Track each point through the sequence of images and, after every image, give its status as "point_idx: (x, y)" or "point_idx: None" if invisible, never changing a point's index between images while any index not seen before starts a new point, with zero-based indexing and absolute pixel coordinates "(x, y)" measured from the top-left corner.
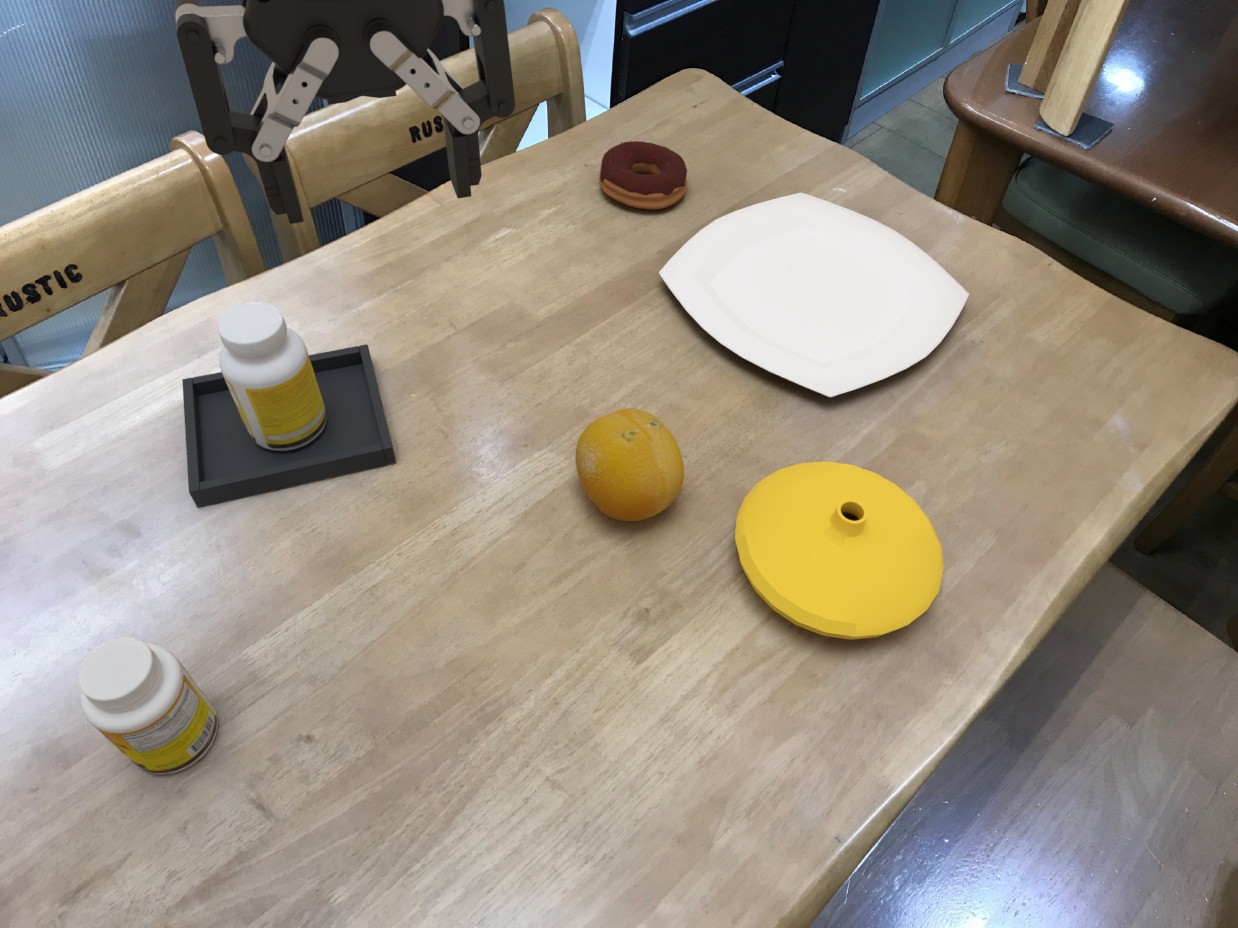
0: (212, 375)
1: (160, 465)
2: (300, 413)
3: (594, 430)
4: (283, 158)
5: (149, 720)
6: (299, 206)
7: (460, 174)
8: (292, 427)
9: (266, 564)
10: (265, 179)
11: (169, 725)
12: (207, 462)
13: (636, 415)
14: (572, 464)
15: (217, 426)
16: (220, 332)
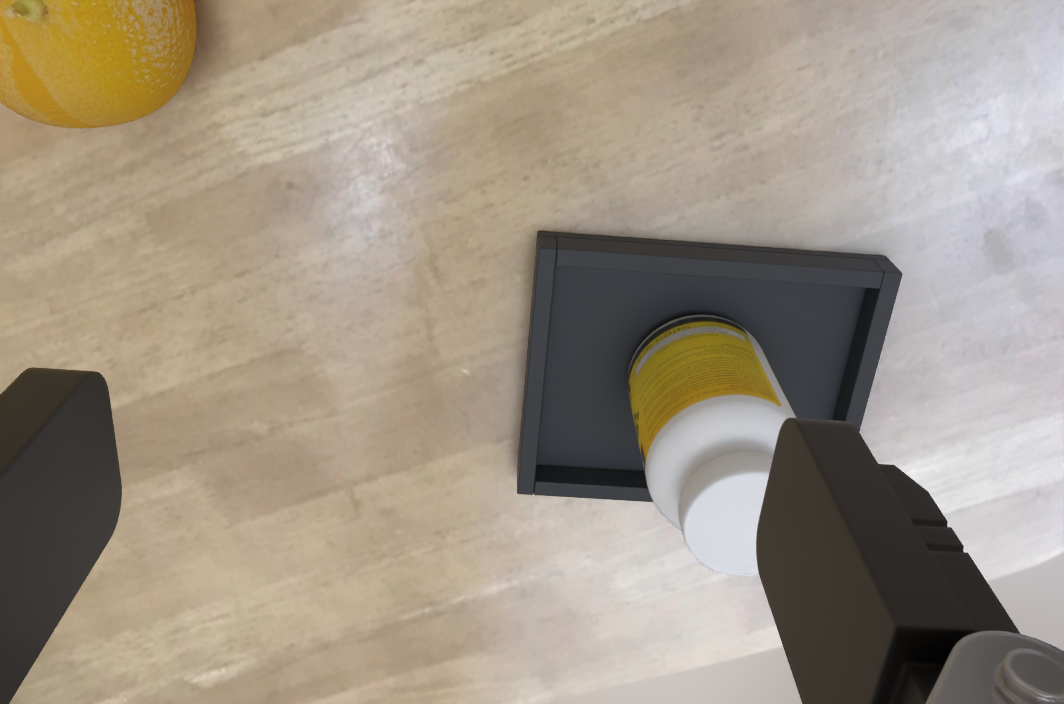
0: None
1: (912, 364)
2: (684, 355)
3: (114, 67)
4: (908, 643)
5: None
6: (813, 454)
7: (14, 428)
8: (702, 338)
9: (817, 91)
10: (972, 583)
11: None
12: (844, 340)
13: (2, 64)
14: (209, 107)
15: (806, 409)
16: None
